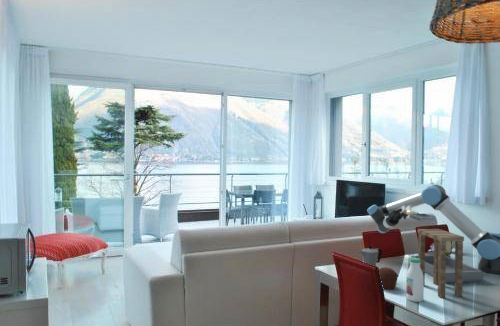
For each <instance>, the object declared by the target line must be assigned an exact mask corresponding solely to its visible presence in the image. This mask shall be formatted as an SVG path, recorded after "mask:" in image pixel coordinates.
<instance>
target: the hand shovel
mask: <svg viewBox="0 0 500 326" xmlns="http://www.w3.org/2000/svg"><path fill="white" fill-rule="evenodd" d="M399 209H400V208H399ZM402 213H404V214H407V215H408V217H409V218H411V219H412V220H413V219H414V220H417V221H435V216H434V215H430V214H427V213H419V212H417V211H413V210H407V209H406V210H405V211H404V212H402Z"/></svg>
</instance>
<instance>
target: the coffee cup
mask: <svg viewBox="0 0 500 326" xmlns="http://www.w3.org/2000/svg"><path fill="white" fill-rule="evenodd" d="M452 244H453V241H446V249H447V251H448V253H449V254H450V253H451V252H452Z"/></svg>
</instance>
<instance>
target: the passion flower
mask: <svg viewBox="0 0 500 326" xmlns="http://www.w3.org/2000/svg"><path fill="white" fill-rule="evenodd" d="M429 247H430V249H427V252H429V253H430V252H432V254H431V255H434V242H433V243H430V246H429ZM446 256H447V257H450V253H448V251H447V249H446Z"/></svg>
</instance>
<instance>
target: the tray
mask: <svg viewBox="0 0 500 326" xmlns="http://www.w3.org/2000/svg"><path fill="white" fill-rule="evenodd" d="M410 258H418V255H411V256H410ZM433 272H434V255H432V254H431V255H430V254H429V255H425V274H427V275H428V276H430V277H432V278H433ZM483 272H484V271H481V270H479V269H478V268H475V267H473V266H471V265H468V264H466V263H464V262H463V276H462V284H470V283H471V284H473V283H474V284H475V283H483ZM447 284H455V258H451V257H450V256H448V257H447V256H446V279H445V285H447Z"/></svg>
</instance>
